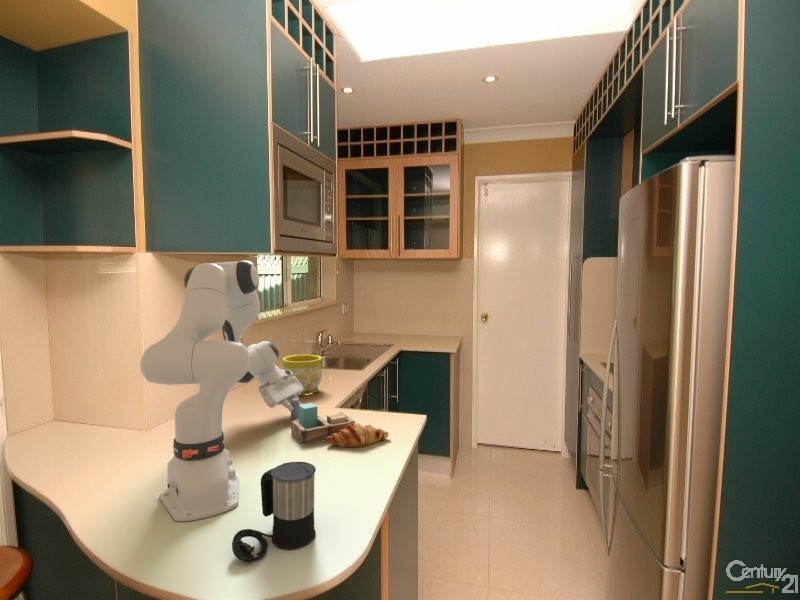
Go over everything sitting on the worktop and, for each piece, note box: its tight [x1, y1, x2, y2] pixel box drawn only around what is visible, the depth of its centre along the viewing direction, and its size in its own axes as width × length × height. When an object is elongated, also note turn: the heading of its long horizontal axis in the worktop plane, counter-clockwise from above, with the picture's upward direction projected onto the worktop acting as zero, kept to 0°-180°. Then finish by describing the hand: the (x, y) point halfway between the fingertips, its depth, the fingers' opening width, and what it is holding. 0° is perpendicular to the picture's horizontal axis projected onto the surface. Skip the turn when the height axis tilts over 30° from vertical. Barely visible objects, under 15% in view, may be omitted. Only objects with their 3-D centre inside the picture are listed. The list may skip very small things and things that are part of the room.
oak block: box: [326, 412, 345, 425], centre depth 156 cm, size 5×5×6 cm
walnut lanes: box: [290, 411, 356, 445], centre depth 154 cm, size 12×19×4 cm, turn 121°
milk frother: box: [231, 461, 317, 563], centre depth 91 cm, size 14×16×15 cm
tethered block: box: [290, 398, 318, 429], centre depth 162 cm, size 17×5×9 cm, turn 34°
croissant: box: [325, 422, 390, 448], centre depth 147 cm, size 21×10×8 cm, turn 109°
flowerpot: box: [282, 354, 323, 395], centre depth 207 cm, size 18×18×16 cm
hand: (296, 407), depth 168 cm, fingers closed on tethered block, 3 cm apart
